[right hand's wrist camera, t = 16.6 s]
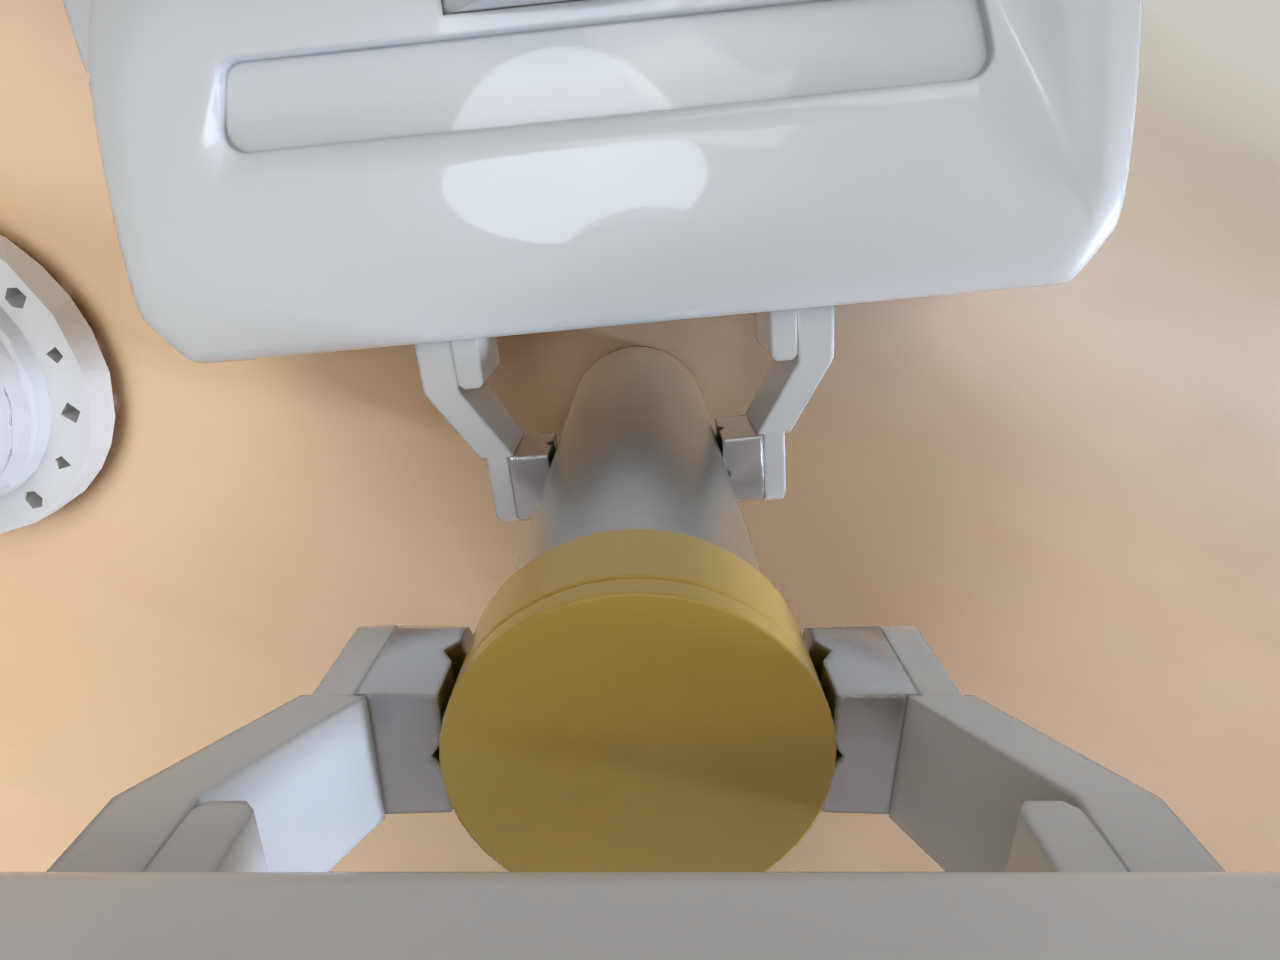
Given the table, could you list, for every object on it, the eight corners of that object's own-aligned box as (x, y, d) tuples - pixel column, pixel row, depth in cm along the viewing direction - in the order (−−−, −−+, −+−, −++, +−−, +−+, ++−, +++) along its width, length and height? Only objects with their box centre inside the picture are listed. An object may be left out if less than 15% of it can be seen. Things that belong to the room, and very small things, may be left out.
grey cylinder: (583, 335, 22) (487, 560, 8) (715, 358, 22) (843, 614, 8) (564, 461, 23) (457, 835, 10) (689, 481, 24) (762, 874, 10)
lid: (404, 698, 10) (361, 789, 8) (612, 455, 9) (606, 509, 7) (658, 855, 11) (661, 961, 10) (875, 659, 10) (921, 745, 8)
